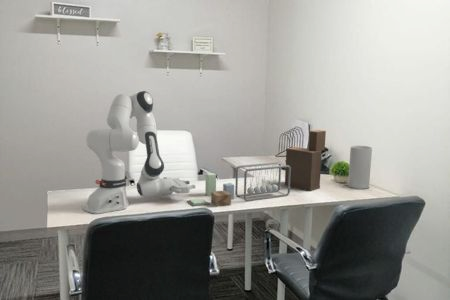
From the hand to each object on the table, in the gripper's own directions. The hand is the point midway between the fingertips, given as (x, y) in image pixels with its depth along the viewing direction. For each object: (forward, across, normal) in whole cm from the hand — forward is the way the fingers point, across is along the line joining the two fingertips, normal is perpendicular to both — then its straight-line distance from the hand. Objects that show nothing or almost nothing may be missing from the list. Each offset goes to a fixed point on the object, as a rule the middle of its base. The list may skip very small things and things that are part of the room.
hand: (192, 184), depth 230 cm
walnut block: (+10, -18, +7) cm, 22 cm away
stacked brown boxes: (+72, -4, +7) cm, 72 cm away
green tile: (-1, -12, +7) cm, 14 cm away
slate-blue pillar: (+18, -10, +7) cm, 22 cm away
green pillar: (+11, 0, +7) cm, 13 cm away
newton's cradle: (+38, -13, +7) cm, 40 cm away
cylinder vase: (+105, -15, +7) cm, 106 cm away
